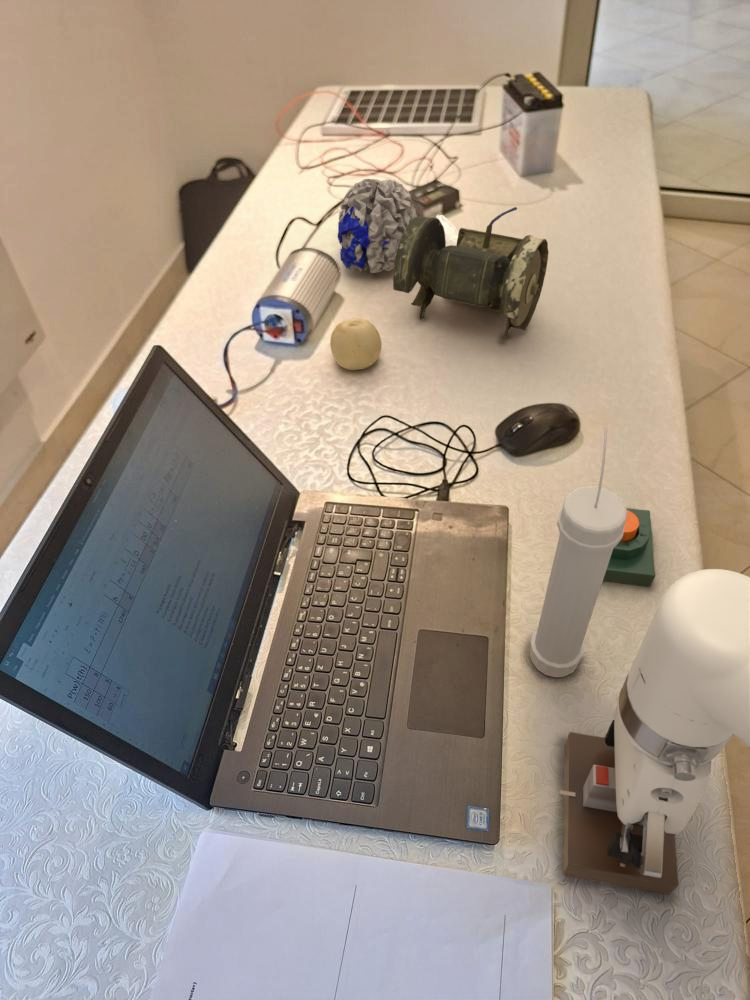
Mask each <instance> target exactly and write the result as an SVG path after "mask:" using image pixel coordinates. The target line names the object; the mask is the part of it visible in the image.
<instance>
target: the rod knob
mask: <svg viewBox="0 0 750 1000" xmlns="http://www.w3.org/2000/svg"><path fill="white" fill-rule="evenodd" d="M583 806H585V807H590V808H596V809H602V810H607V811H613V812H617V804H616V780H615V768H611V767H605V766H598V765H593V767H592V769H591V771H590V773H589V775H588V778H587V780H586V782H585V784H584V786H583Z"/></svg>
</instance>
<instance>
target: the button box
mask: <svg viewBox="0 0 750 1000" xmlns="http://www.w3.org/2000/svg"><path fill="white" fill-rule="evenodd" d="M626 510H628V511H630V512H632V513H634V514H635V515H636V516H637V518H638V520H639V527H638V530H637V532H636V535H635V537H634V538H633V539H632V540H630V541H626V542H619V543H618V544H617V545H616V546H615V547H614V548H613V551H612V554H611V557H610V560H609V563H608V566H607V570H606V573H605V576H604V579H603V582H610V583H618V584H626V585H632V586H633V585H634V586H641V587H647V588H648V587H649V588H650V587H652V584H653V582H654V580H655V577H656V571H655V557H654V545H653V533H652V532H653V531H652V521H651V511H650V510H647V509H646V510H645V509H638V508H628V507H626Z"/></svg>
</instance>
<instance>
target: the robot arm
mask: <svg viewBox="0 0 750 1000" xmlns="http://www.w3.org/2000/svg"><path fill="white" fill-rule="evenodd" d="M616 701H617V703H616V707H615V710H614V712H615V713H614V719H612V720H611V723H610V725H609V727H608V730H607V732H606V734H605V736H604V738H605V743H606V744H607V746H611V747H615V780H616V804H617V814H618V817H619V819H620V820H621V822H622V830H621V832H617V833H616V834H615V836H614V838H613V839H612V841H611V843H610V844H609V846H608V847H607V855H609V856H612V857H617V858H620V862H621V863H622V864H625V865H630V866H633V868H638V869H639V871H640V872H641V873H642V875H646V876H651V877H656V878H661V877H662V866H663V846H664V831H665V833H670V834H674V835H679V833H681V832H682V831H683V830H684V829H685V828H686V826H687V825H688V823H689V821H690V820H691V818H692V816H693V815H694V813H695V812H696V810H697V808H698V806H699V804H700V802H701V800H702V798H703V795H704V793H705V791H706V787H707V785H708V783H709V779H710V775H711V769H712V761H713V760H714V759H715V758H716V757H717V756H718V755H719V754H720V753H721V752H722V751H723V749H724V748H725V746H726V745H727V744H728V742H729V741H730V740H731V738H732V737H733V735H734V736H735V737H736V738H737V739H739V740H740V741H741V742H742V743H743V744H745V745H746V746H747V747H748V748H750V576H748V575H745V574H743V573H741V572H737V571H733V570H730V569H722V568H705V569H699V570H695V571H691V572H689V573H687V574H685V575H682V576H681V577H679V578H678V579H677V580H675V581H674V582H672V584H671V585H670V586H668V588H667V589H666V590H665V591H664V593H663V595H662V597H661V599H660V600H659V602H658V605H657V607H656V610H655V612H654V614H653V616H652V618H651V621H650V623H649V625H648V628H647V630H646V632H645V635H644V637H643V639H642V641H641V643H640V646H639V648H638V650H637V652H636V655H635V658H634V659H633V661H632V664H631V666H630V668H629V671H628V673H627V675H626V678H625V680H624V682H623V685H622V687H621V689H620V690H619V694H618V697H617V700H616ZM633 825H637V826H643V836H642V835H637V834H632V828H633Z"/></svg>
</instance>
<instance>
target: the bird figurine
mask: <svg viewBox="0 0 750 1000" xmlns="http://www.w3.org/2000/svg"><path fill="white" fill-rule="evenodd" d="M435 218H438V219H439V220H440V222H441V224H442V225H443V227H444V232H445V241H446V246H450V245H453V246H456V245H457V239H458V233H459V230H458V229H457V227H456V226H455V225H454V224H453V223H452V221H450V220H449V219H448V218H447V217H446V216H444V214H439V213H437V215H436V216H435Z"/></svg>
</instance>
